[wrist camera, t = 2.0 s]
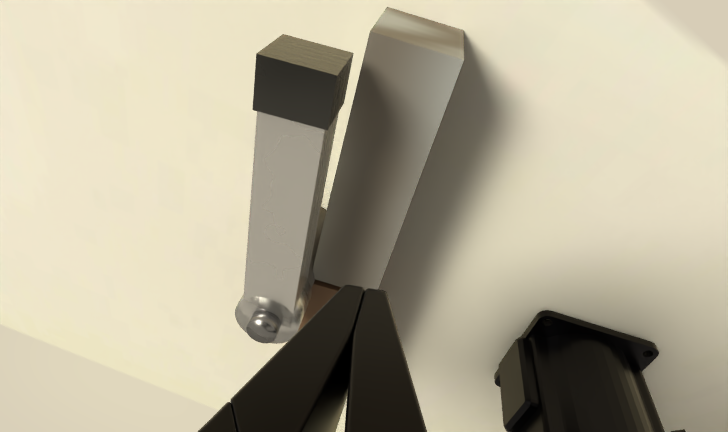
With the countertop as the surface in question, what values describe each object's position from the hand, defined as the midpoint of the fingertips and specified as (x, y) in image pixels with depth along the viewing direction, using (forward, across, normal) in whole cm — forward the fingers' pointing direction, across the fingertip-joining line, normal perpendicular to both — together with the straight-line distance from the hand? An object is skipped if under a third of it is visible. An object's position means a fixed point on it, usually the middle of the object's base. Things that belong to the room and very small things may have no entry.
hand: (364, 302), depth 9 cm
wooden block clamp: (+12, +3, +8) cm, 15 cm away
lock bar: (+7, +4, +3) cm, 9 cm away
